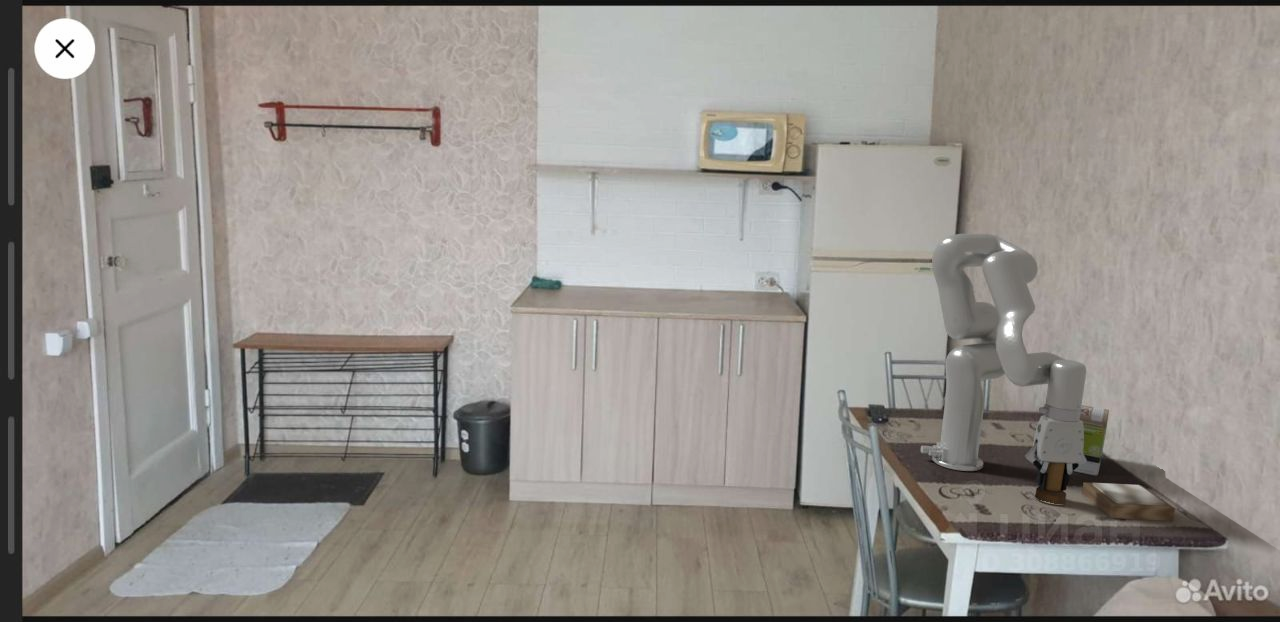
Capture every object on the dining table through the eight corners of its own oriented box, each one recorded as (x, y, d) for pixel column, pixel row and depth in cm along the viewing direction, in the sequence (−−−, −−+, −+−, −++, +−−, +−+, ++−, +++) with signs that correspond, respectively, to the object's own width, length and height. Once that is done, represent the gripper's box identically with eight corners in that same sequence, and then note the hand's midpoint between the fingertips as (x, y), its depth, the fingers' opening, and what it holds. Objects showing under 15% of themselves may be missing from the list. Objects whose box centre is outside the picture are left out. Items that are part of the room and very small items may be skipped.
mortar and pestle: (1070, 506, 207) (1080, 432, 204) (1042, 505, 207) (1052, 431, 204) (1057, 495, 214) (1067, 423, 210) (1030, 494, 214) (1040, 422, 211)
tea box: (1099, 477, 228) (1107, 421, 226) (1056, 468, 233) (1064, 414, 230) (1101, 460, 241) (1109, 408, 239) (1061, 452, 246) (1068, 401, 243)
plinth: (1111, 517, 202) (1113, 502, 201) (1081, 494, 215) (1083, 480, 215) (1173, 520, 202) (1175, 505, 201) (1139, 497, 216) (1141, 482, 215)
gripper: (1032, 416, 203) (1022, 492, 206) (1106, 419, 203) (1094, 495, 206) (1019, 406, 210) (1009, 480, 214) (1090, 410, 210) (1079, 483, 214)
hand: (1051, 486), depth 210 cm, fingers closed on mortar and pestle, 4 cm apart
